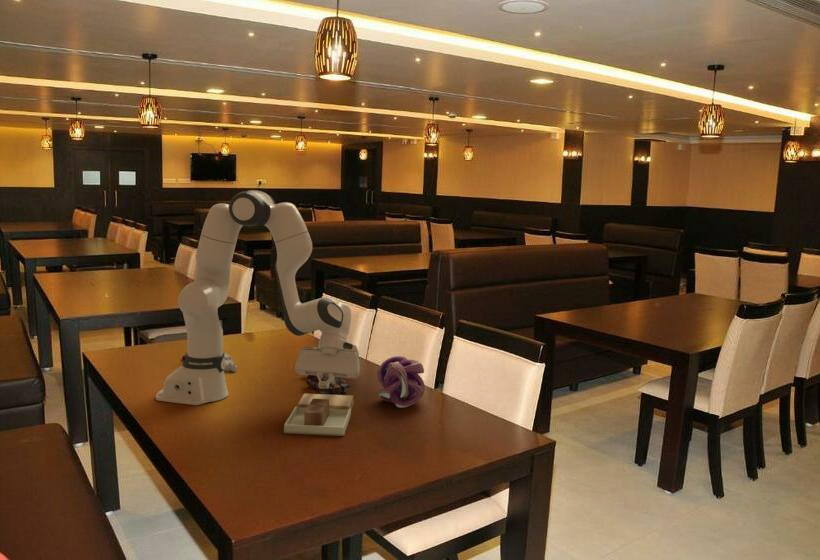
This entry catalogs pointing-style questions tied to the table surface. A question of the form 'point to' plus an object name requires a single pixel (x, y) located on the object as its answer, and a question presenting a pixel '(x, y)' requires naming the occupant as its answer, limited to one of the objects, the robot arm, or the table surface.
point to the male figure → (229, 363)
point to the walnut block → (317, 412)
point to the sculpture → (401, 381)
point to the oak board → (334, 401)
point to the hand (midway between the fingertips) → (323, 387)
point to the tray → (332, 426)
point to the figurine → (334, 386)
